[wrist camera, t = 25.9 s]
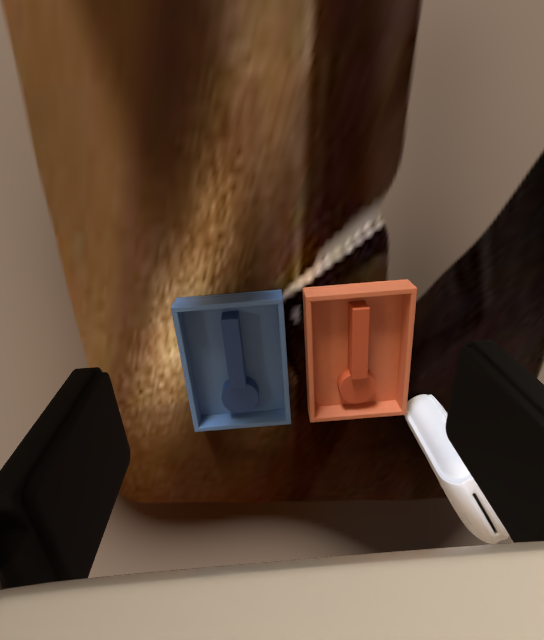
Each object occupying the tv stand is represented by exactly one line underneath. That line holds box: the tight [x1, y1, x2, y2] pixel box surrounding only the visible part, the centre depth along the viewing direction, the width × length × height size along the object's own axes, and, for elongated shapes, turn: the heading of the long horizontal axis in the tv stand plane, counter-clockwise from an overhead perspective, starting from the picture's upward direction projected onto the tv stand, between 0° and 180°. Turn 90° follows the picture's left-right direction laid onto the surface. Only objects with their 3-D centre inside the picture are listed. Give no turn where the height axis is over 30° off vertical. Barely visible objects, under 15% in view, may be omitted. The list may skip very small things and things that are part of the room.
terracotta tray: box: [303, 279, 417, 422], centre depth 39 cm, size 14×10×2 cm
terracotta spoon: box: [337, 300, 376, 404], centre depth 39 cm, size 11×4×2 cm, turn 4°
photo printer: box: [404, 394, 509, 544], centre depth 39 cm, size 10×4×12 cm, turn 32°
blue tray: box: [171, 289, 291, 432], centre depth 39 cm, size 14×10×2 cm
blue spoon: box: [221, 311, 259, 413], centre depth 39 cm, size 11×4×2 cm, turn 4°
